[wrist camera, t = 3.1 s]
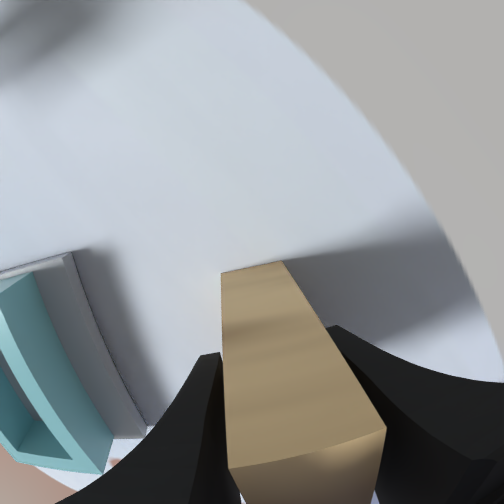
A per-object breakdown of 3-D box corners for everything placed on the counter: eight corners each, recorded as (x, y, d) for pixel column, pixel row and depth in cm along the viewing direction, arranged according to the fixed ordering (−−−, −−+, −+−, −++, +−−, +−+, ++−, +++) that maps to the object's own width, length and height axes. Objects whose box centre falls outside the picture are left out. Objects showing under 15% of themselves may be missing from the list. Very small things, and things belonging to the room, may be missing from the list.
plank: (298, 370, 12) (361, 534, 5) (247, 381, 12) (276, 555, 5) (281, 260, 11) (386, 427, 3) (220, 273, 11) (228, 468, 3)
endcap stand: (147, 426, 13) (136, 478, 9) (21, 423, 12) (0, 459, 9) (71, 251, 10) (25, 282, 7) (-50, 287, 10) (-88, 312, 7)
